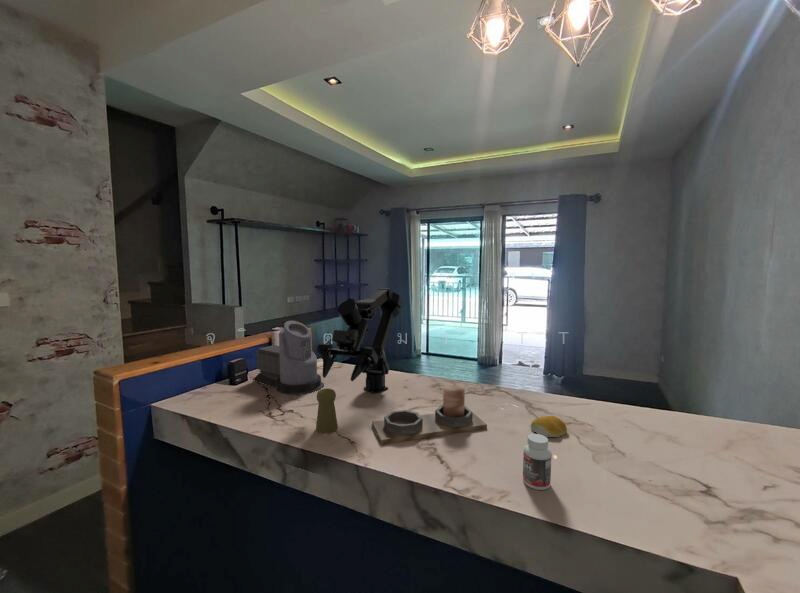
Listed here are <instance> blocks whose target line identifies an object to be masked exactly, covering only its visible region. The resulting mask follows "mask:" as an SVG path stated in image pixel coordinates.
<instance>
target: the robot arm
mask: <svg viewBox="0 0 800 593" xmlns="http://www.w3.org/2000/svg"><path fill="white" fill-rule="evenodd" d="M403 306H404V300H403V298H402V297H401V296H400V294H397V293H396V292H394V291H393V290H392V288H389V287H386V288H384V287H381V288H378V289H377V291H376V292H374V293H373V294H371V295H370V296H369V297H368V298H366V299H359V300H357V301H356V300H355V298H353V297H350V298H349V297H348V298H347V299H346V300H345V301H343V302H341V303H340V304H339V305H338V306H337V313H338V315H339V316H340V318H341V320H342V321H343V322H344V324H345V325H346V326H347V329H346V330H341V329H334V330H333V334H332V337H331V341H332V342H336V346H337V347H338V348H334V346H332V344H331V343H319V344H318V345H317V347H316V352H317V353H318V355H319V356H320V357H321V359H322V378H324V379H326V377H327V376H328V374H329V372H330V370H331V368H332V367H333V364H334V363H335V361H334V360H335V358H336V357H337V356H338V357H347V358H348V357H349V358H356V361H355V362H356V363H355V366H354V368H353V370H352V373H351V375H350V381H351V382H354V381H355V380H356V379H357V378H358V377H359V376H360V375H361V374H366V377H365V386H364V387H363V390H366V391H368V392H370V393H373V394H376V393H379V392H383V391H386V390H388V389H389V387H388V386H386V375H389V371H390V364H389V363H388V361H387V356H386V353H385V348H386V345H387V341H388V339H389V335H390V331H391V328H392V325H393V322H394V319H395V318H396V317H397V316H399V314H400V313H401V310H402V309H403ZM379 308H380V310H381V316H380V318H379V322H378V325H377V328H376V331H375V335H374V337H373V340H372V342H371V345H370V346H363V345H364V341H363V339H364V337H365V333H366V332H368V331H369V330H370V329H369V325H368V322H367V320H373V319H375V316H377V314H378V312H377V311H378V309H379ZM361 346H362V347H361Z"/></svg>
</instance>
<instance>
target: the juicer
mask: <svg viewBox="0 0 800 593" xmlns="http://www.w3.org/2000/svg"><path fill="white" fill-rule="evenodd" d="M317 358H318V357H317V355H316V354H315V352H314V351H313V350H312V332H311V331H310V329H309V327H307V325H305V324H304V323H302V322H299V321H297V320H287V321H286V322H284V324H283V329H281V330H280V331H279V333H278V345H275V344H273V345H269V346H263V347H259V348H257V351H256V369H257V370H259V373H258V374H257V375H256V376H255V377H254V378H253V379H252V380H255V381H257V382H261V383H264V384H267V385H266V386H268V385H270V386H269V387H271V386H273V387H272V388H275V387H276V388H275V389H276V390H278V391H279V392H278V391H277V392H278V393H281V394H285V393H286V395H294V394H295V396H301V395H300V394H304V395H309V394H313V393H316V392H318V391H320V390H322V389H324V387H325V386H324V384H325V383H324V382H323V381H322V376H321V375H320V374H318V359H317ZM257 382H256V383H257ZM261 383H260V384H261ZM264 384H263V385H264ZM321 388H322V389H321ZM315 391H316V392H315ZM312 392H313V393H312ZM308 393H309V394H308Z"/></svg>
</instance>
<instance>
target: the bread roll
mask: <svg viewBox="0 0 800 593" xmlns="http://www.w3.org/2000/svg"><path fill="white" fill-rule="evenodd" d="M530 429H531V431H532V430H533V431H532V433H535V432H536V433H537V434H540V435H543V436H545V437H556V438H559V437H561V436H564V435H566V434H567V431H568V428H567V425H566V423H565V422H564V421H563V420H562V419H561V418H559V417H557V416H554V415H543V416H540V417H538V418H535V419H533V420H532V421H531V423H530ZM536 433H535V434H536Z"/></svg>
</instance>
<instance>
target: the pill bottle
mask: <svg viewBox="0 0 800 593" xmlns="http://www.w3.org/2000/svg"><path fill="white" fill-rule="evenodd" d="M522 464H523V466H522V481H523V483H524V484H525V485H526V486H527V487H528V488H531V489H533V490H539V491H544V490H547V489H549V488H550V486H551V480H552V479H551V478H552V477H551V476H552V450H551V449H550V448H549V438H547V437H545V436H543V435H540V434H536V433H530V434H528V435H527V444H525V445H524V447H523V463H522Z"/></svg>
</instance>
